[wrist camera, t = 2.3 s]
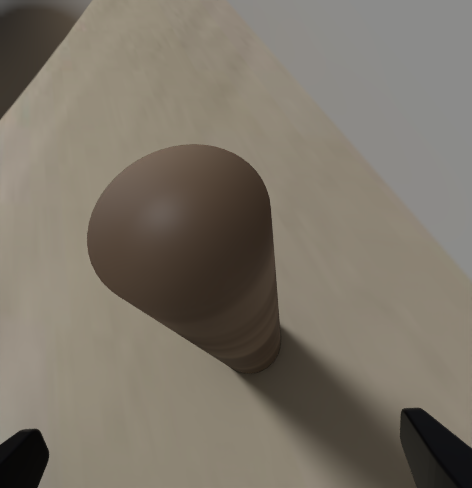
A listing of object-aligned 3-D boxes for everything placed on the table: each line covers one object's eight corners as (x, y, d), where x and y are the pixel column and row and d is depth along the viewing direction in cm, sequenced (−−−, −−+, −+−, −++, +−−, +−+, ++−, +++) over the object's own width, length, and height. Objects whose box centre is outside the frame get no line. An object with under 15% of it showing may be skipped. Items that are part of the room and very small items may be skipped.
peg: (293, 350, 19) (310, 237, 6) (237, 387, 19) (124, 350, 6) (258, 296, 21) (213, 119, 8) (206, 329, 21) (65, 197, 7)
